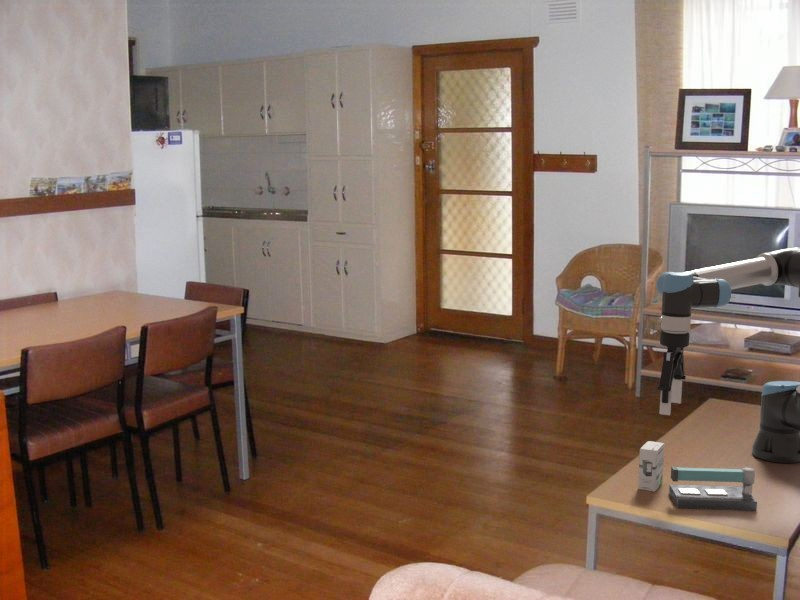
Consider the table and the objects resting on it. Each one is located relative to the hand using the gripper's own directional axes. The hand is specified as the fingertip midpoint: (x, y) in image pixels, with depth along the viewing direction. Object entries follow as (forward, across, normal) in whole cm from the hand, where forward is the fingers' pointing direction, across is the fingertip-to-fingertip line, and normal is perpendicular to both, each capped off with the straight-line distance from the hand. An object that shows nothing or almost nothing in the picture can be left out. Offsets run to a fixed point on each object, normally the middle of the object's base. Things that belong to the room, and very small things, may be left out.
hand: (670, 408), depth 254 cm
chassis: (+24, +1, +12) cm, 27 cm away
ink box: (+24, -3, -5) cm, 25 cm away
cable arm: (+18, +1, +12) cm, 22 cm away
